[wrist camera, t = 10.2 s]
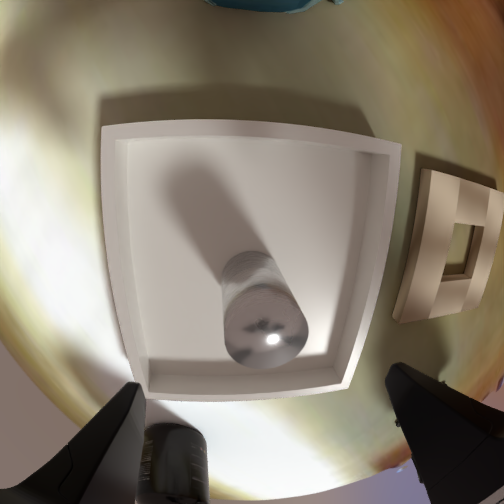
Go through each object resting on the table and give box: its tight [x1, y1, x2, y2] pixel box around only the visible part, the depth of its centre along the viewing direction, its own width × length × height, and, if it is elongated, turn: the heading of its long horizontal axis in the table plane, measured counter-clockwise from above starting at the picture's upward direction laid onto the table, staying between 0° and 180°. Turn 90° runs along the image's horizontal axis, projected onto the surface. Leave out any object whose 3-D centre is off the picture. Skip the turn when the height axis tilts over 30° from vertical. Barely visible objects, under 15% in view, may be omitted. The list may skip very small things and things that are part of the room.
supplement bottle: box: [135, 423, 210, 504], centre depth 17 cm, size 7×7×12 cm
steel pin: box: [221, 251, 309, 369], centre depth 14 cm, size 4×4×6 cm
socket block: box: [392, 168, 504, 324], centre depth 18 cm, size 12×12×1 cm
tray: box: [101, 119, 401, 402], centre depth 16 cm, size 18×16×2 cm
